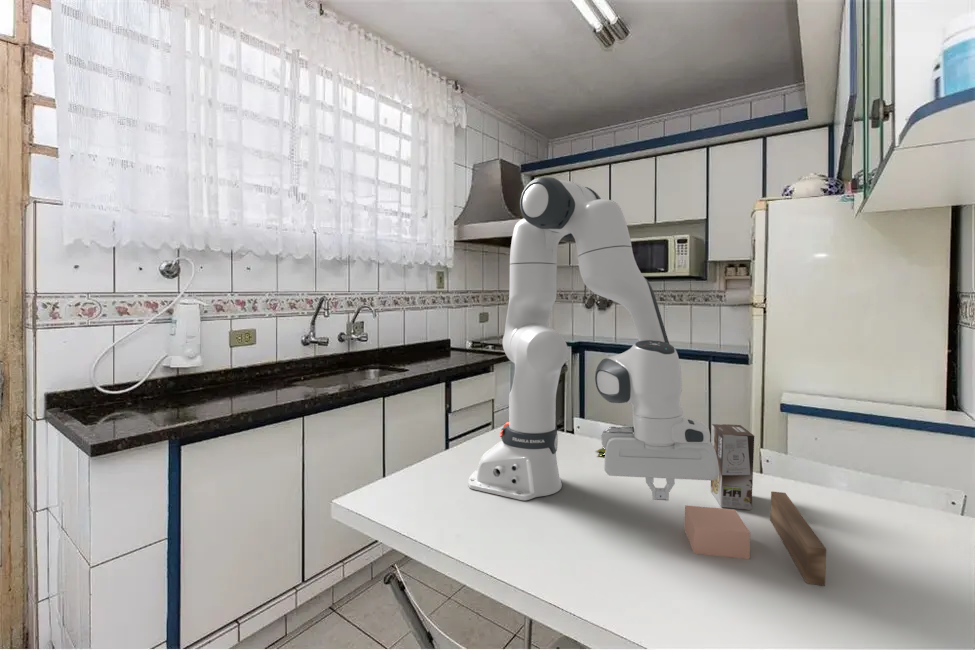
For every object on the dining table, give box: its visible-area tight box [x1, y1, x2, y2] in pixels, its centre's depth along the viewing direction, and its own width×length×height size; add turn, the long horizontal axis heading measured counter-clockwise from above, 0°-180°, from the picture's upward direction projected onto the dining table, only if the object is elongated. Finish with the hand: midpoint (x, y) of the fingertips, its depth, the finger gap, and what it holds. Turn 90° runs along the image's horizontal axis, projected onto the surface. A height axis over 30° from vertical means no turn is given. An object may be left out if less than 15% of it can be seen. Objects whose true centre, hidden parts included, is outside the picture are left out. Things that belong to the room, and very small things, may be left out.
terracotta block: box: [683, 504, 751, 560], centre depth 87 cm, size 9×9×5 cm
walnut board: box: [769, 490, 827, 587], centre depth 85 cm, size 2×22×6 cm, turn 162°
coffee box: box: [710, 423, 755, 511], centre depth 105 cm, size 9×6×16 cm
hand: (660, 498), depth 90 cm, fingers closed
